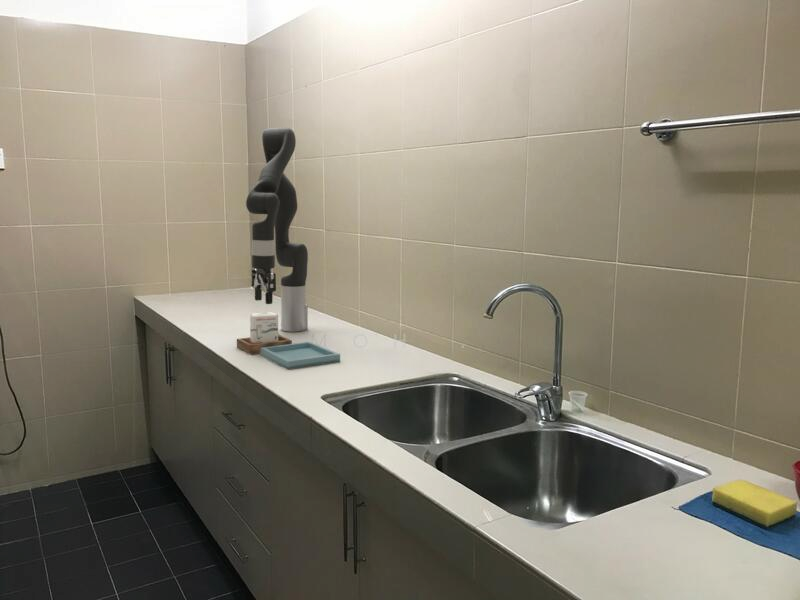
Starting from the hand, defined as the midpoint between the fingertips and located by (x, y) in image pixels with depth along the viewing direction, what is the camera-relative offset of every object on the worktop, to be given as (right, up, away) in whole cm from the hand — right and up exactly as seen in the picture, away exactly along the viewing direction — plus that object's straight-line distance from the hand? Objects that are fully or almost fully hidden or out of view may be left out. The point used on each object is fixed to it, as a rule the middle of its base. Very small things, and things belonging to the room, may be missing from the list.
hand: (263, 302), depth 220 cm
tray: (+14, -18, -9) cm, 24 cm away
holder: (0, -16, +3) cm, 16 cm away
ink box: (0, -16, +3) cm, 16 cm away
